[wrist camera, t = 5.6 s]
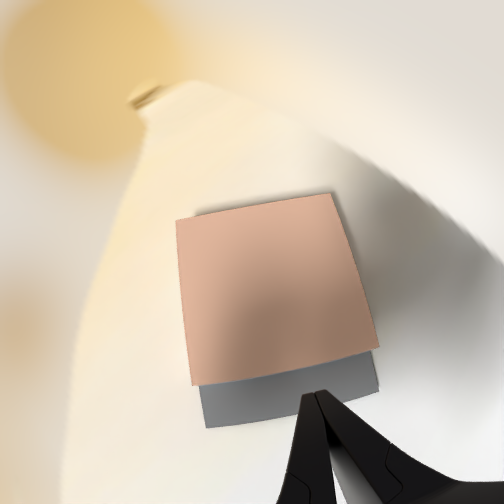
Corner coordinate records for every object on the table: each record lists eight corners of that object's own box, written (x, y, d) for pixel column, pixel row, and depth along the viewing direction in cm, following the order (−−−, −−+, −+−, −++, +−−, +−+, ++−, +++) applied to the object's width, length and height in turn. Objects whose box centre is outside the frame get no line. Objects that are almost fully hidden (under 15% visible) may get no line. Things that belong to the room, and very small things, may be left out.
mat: (376, 391, 15) (379, 391, 15) (207, 427, 15) (206, 428, 14) (323, 204, 21) (324, 201, 20) (182, 230, 20) (181, 227, 20)
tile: (379, 346, 14) (330, 193, 19) (192, 385, 14) (175, 220, 18) (370, 350, 16) (326, 206, 20) (199, 385, 15) (182, 232, 20)
